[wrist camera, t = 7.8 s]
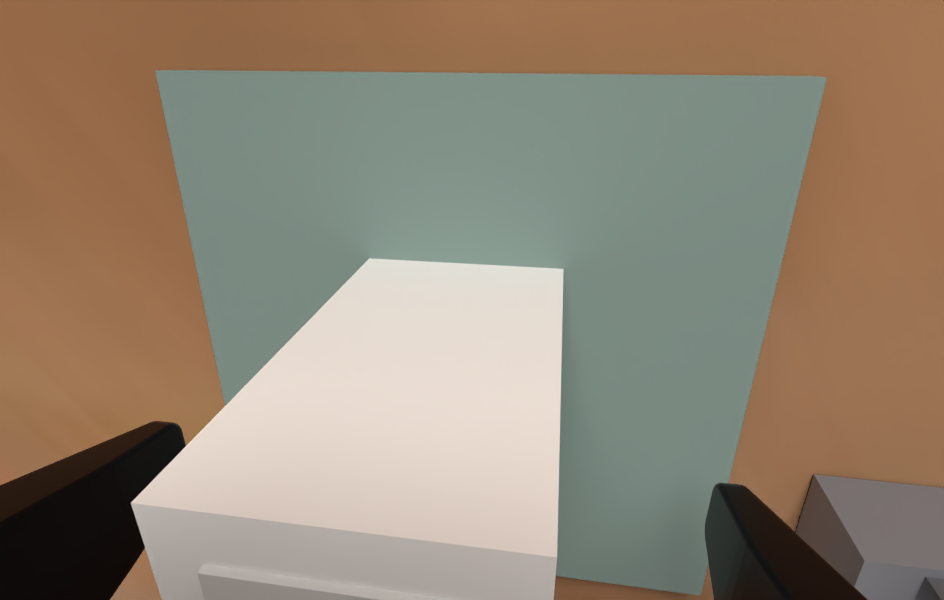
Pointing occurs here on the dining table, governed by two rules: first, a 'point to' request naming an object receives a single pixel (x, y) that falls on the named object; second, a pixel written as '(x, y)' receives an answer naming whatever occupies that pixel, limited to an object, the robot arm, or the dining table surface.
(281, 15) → the dining table surface
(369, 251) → the rubber mat
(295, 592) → the charger
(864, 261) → the dining table surface
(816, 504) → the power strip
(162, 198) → the dining table surface
